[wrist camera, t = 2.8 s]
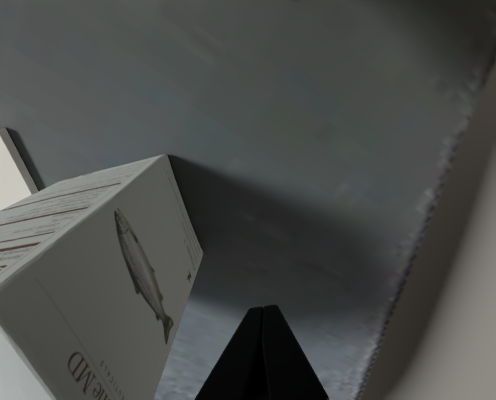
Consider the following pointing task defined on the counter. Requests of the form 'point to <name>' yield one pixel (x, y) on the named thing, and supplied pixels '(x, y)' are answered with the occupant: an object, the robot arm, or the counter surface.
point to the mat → (13, 173)
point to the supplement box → (94, 284)
